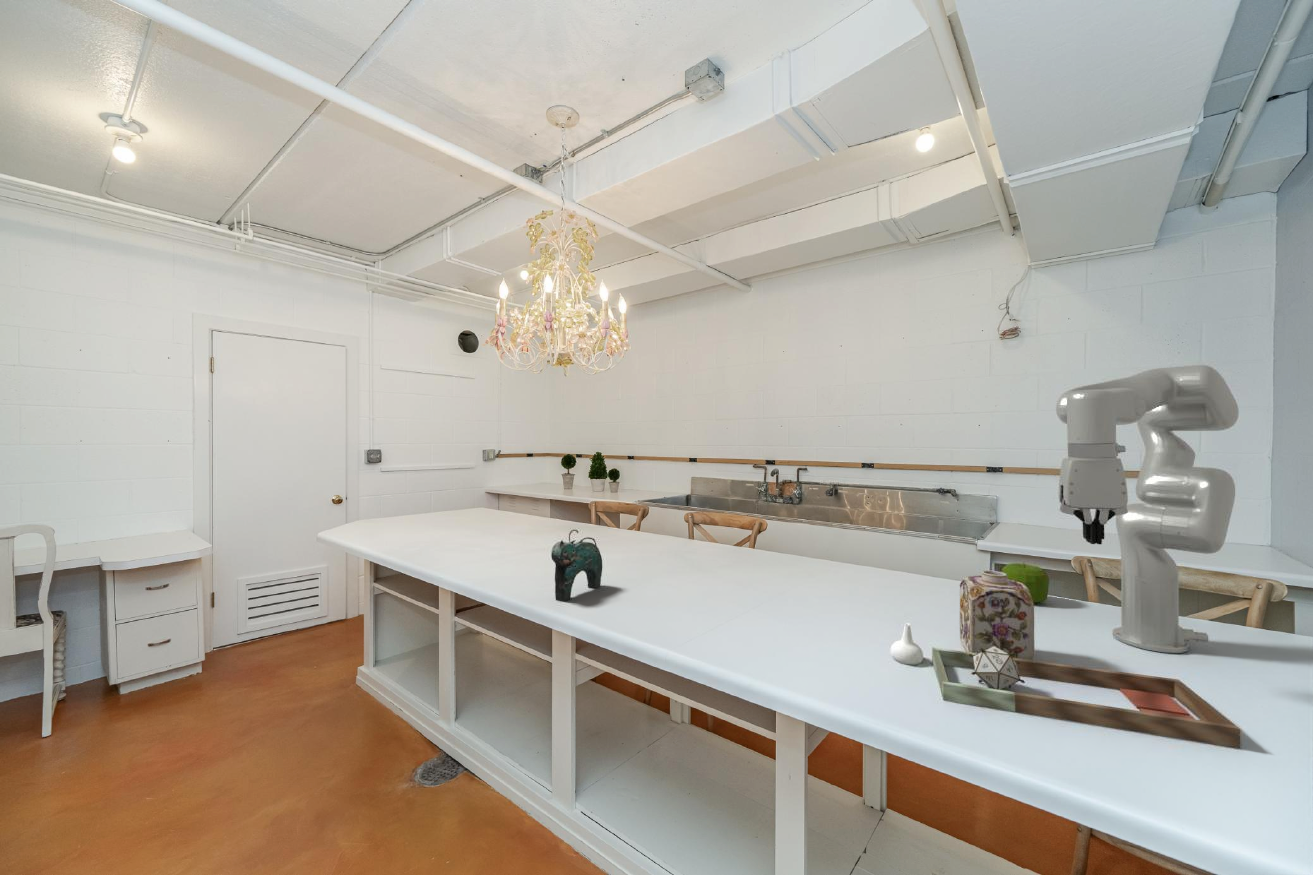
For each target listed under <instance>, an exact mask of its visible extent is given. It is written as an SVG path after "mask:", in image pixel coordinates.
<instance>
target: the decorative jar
mask: <svg viewBox="0 0 1313 875" xmlns="http://www.w3.org/2000/svg"><path fill="white" fill-rule="evenodd" d="M959 640H960V643H961V644H962V647H963V649H964V650H965V651H964V652H971V653H979V652H981V650H980V648H983V649H984V650H985V649H987V648H989V647H991V646H993V645H992V642H993V641H994V643H995V646H996V647H997V648H999V649H1001V650H1003V651H1005V652H1006V653H1008V654H1010V653H1011V652H1014V655H1013V656H1012V658H1017V659H1025V660H1033V661H1035V603H1033V598H1032V597H1031V595H1030V591H1029V589H1028V588H1027V587H1026V586H1025V585H1024V584H1023V583H1020V582H1017V581H1014V580H1010V579H1007V574H1005V573H1002V571H997V570H982V571H981V575H969V576H966V577H963V578H962V580H961V581H960V583H959Z"/></svg>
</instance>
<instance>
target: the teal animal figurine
mask: <svg viewBox="0 0 1313 875" xmlns="http://www.w3.org/2000/svg"><path fill="white" fill-rule="evenodd" d="M573 532H576V533H577V534H579V530H578V529H571V530H570V531H569V533H568V541H569V542H565V541H563V539H561V540H560V541H558V542H555V544H554V545H553V546H552V548H551V553H550V554H551V560H552V561H553V562H554V564H555V565H554V566H555V568H554V569H555V570H554V583H555V584H554V585H555V586H554V587H555V588H554V595H555V600H556V601H558V602H563V603H565V602H567V601H570V600H571V596H572V588H573V584H574V583H575V578H576V577H577V576H578V575H579V573H581V572H584V573H585V575H586V580H587V588H589V589H599V588H600V587H601V585H602V584H601V582H602V574H603V557H602V554H601V551H600V549H599V548H598V546H597V542H596V539H595V538H593V537H589V536H588V537H584V538H582V539H581V540H579V541H576V540H575V539H574V540H571V534H572V533H573ZM585 540H592V541H593V542H594V543H593V542H589V541H585Z"/></svg>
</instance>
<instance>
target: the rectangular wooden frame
mask: <svg viewBox="0 0 1313 875" xmlns="http://www.w3.org/2000/svg"><path fill="white" fill-rule="evenodd" d="M931 651H932V652H931V653H932V654H931V655H932V656H931V657H932V659H931V660H932V665H933V669H934V672H935V675H936V679H937V683H938V687H939V691H940V693H941V697H942V700H943V701H947V702H952V703H957V704H965V705H970V706H978V707H983V708H990V709H996V710H1002V711H1006V712H1007V711H1009V712H1014V713H1019V714H1026V715H1033V716H1038V717H1044V718H1051V719H1057V720H1058V719H1059V720H1062V721H1063V720H1064V721H1070V722H1075V723H1082V724H1087V725H1093V726H1094V725H1095V726H1101V727H1106V728H1112V729H1119V730H1125V731H1129V732H1130V731H1131V732H1137V733H1144V734H1150V735H1155V736H1161V737H1167V738H1172V739H1173V738H1174V739H1180V740H1187V741H1192V742H1199V743H1205V744H1210V745H1215V746H1216V745H1217V746H1222V747H1229V748H1235V749H1241V728H1240V727H1238V725H1236V724H1235V723H1233V722H1232V721H1231V720H1230V719H1228V717H1226V716H1224V715H1223V713H1221V712H1220V711H1219V710H1217V709H1216V708H1215V707H1214V706H1212V705H1211V704H1210V703H1209V702H1207V701H1206V700H1205V699H1204V698H1202V697H1201V696H1200V695H1198V694H1197V693H1196V692H1195V691H1193V690H1192V689H1191V688H1190V687H1189V686H1187V685H1186V684H1185V683H1183V681H1181V680H1180V679H1177V678H1171V677H1161V676H1154V675H1145V674H1139V673H1138V674H1137V673H1131V672H1124V671H1116V670H1109V669H1103V668H1102V669H1101V668H1100V669H1099V668H1093V667H1087V666H1086V667H1085V666H1076V665H1070V664H1062V663H1054V662H1047V661H1040V660H1039V661H1038V660H1034V661H1033V660H1025V659H1017V658H1013V659H1014V660H1015V662H1016V661H1019V662H1020V663H1019V664H1017V668H1018V672H1019V676H1020V677H1027V678H1034V679H1042V680H1048V681H1055V682H1062V683H1070V684H1076V685H1083V686H1090V687H1098V688H1105V689H1112V690H1113V689H1114V690H1119V691H1120V692H1121V693H1122V694H1123V696H1125V697H1126V699H1128V701H1129V702H1130V703H1131V704H1132V705H1133V706H1134V707H1135V708H1136V709H1139V710H1135V709H1129V708H1122V707H1117V706H1116V707H1115V706H1109V705H1101V704H1096V703H1095V704H1094V703H1089V702H1082V701H1075V700H1069V699H1063V698H1057V697H1056V698H1055V697H1050V696H1045V695H1044V696H1043V695H1036V694H1030V693H1029V694H1028V693H1023V692H1015V691H1009V690H1004V689H1002V690H997V689H993V688H992V687H990V688H989V687H983V686H977V685H972V684H971V685H969V684H964V683H957V682H950V681H949V680H948V676H947V673H946V668H945V667H944V666H949V667H954V666H956V667H955V668H964V669H970V670H975V669H974V663H973V657H971V656H969V654H972V655H975V654H977V653H971V652H966V651H962V650H957V649H949V648H948V649H947V648H939V647H932V650H931ZM1173 698H1175V699H1176V700H1177V701H1178V702H1179V703H1180V704H1181V705H1180V704H1179V703H1178V702H1177V701H1176V700H1174V699H1173ZM1183 706H1184V707H1185V708H1186V709H1187V710H1188V711H1190V713H1192V715H1190V713H1189V712H1188V711H1187V710H1186V709H1184V707H1183ZM1193 715H1194V716H1195V717H1196V718H1198V719H1196V718H1195V717H1194V716H1193Z"/></svg>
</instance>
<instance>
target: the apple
mask: <svg viewBox="0 0 1313 875" xmlns="http://www.w3.org/2000/svg"><path fill="white" fill-rule="evenodd" d="M1001 572H1002V573H1005V574H1007V579H1010V580H1014V581H1017V582H1020V583H1023V584H1024V585H1025V586H1026V587H1027V588H1028V589H1029V591H1030V595H1031V597H1032V598H1033V603H1034V604H1037V603H1041V602H1044V601H1047V599H1048V595H1049V594H1048V593H1049V585H1050V578H1049V575H1048V573H1047V572H1046V571H1045V570H1044V569H1043V568H1042V567H1039V566H1035V565H1031V564H1025V562H1022V563H1017V562H1016V563H1008V564H1006V565H1005V566H1004V567H1003V566H1002V568H1001Z"/></svg>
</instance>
